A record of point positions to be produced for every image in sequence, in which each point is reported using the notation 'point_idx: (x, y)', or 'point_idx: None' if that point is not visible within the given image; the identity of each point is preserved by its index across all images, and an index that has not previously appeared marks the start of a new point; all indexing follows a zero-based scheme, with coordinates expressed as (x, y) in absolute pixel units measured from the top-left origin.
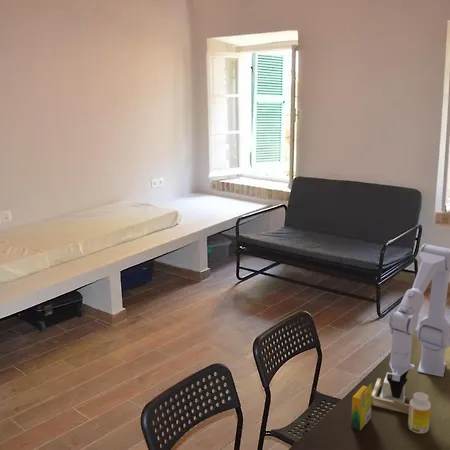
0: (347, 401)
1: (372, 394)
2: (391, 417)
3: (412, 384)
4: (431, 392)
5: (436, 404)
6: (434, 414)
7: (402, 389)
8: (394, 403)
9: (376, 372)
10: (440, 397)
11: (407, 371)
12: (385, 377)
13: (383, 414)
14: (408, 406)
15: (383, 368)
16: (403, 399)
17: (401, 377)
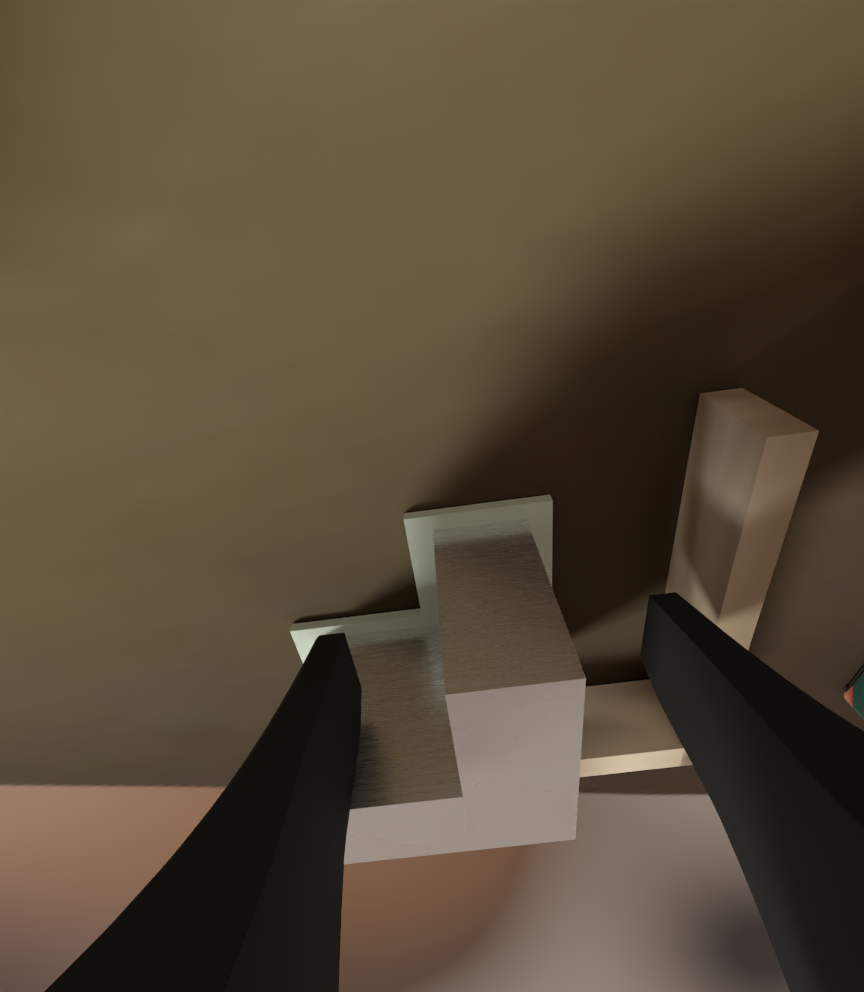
0: (677, 784)
1: (658, 763)
2: (843, 522)
3: (83, 526)
4: (47, 267)
5: (331, 87)
6: (655, 39)
7: (568, 646)
8: (759, 594)
9: (166, 778)
10: (60, 70)
11: (270, 871)
12: (449, 851)
13: (801, 586)
14: (809, 452)
15: (55, 766)
16: (481, 523)
17: (330, 760)
